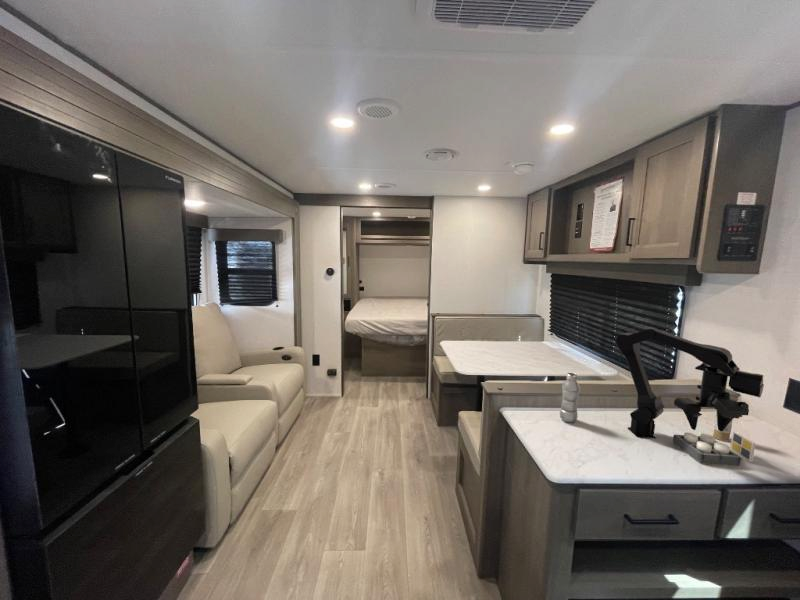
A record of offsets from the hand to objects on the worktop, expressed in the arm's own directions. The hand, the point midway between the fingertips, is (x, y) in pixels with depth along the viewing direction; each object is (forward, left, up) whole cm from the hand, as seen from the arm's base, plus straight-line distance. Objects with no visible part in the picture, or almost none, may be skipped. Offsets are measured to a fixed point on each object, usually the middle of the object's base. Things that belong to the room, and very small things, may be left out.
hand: (706, 430), depth 103 cm
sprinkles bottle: (+17, +13, -10) cm, 24 cm away
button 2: (0, 0, -7) cm, 7 cm away
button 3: (+5, +5, -7) cm, 10 cm away
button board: (+2, +2, -10) cm, 11 cm away
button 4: (+5, 0, -7) cm, 9 cm away
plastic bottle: (-35, +20, -10) cm, 42 cm away
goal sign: (+14, +2, -10) cm, 17 cm away
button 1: (0, +5, -7) cm, 9 cm away
